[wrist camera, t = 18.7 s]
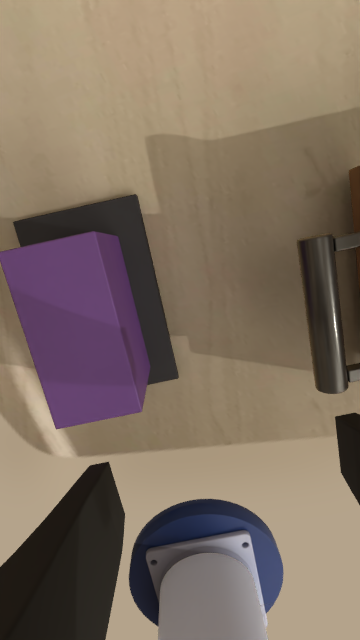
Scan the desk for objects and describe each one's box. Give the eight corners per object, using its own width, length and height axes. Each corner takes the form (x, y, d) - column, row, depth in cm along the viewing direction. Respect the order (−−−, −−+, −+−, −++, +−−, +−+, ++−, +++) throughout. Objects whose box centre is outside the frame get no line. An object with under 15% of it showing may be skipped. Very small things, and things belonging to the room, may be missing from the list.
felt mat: (178, 375, 20) (178, 378, 20) (71, 397, 21) (68, 401, 20) (137, 195, 18) (136, 193, 18) (16, 222, 18) (12, 221, 18)
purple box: (118, 235, 18) (94, 230, 13) (150, 367, 20) (142, 412, 14) (48, 250, 18) (-4, 252, 13) (87, 380, 20) (55, 430, 15)
